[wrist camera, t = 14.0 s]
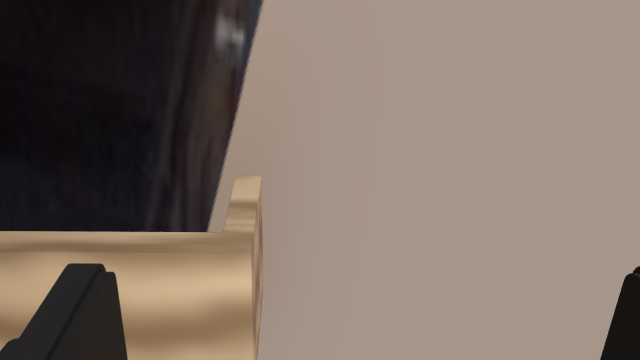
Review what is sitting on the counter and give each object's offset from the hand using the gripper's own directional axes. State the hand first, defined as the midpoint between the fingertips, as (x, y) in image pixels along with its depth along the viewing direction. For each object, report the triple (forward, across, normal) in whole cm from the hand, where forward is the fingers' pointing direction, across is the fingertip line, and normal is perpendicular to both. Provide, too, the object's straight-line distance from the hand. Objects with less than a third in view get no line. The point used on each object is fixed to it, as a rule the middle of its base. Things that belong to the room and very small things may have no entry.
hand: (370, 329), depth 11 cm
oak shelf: (+33, +14, +18) cm, 40 cm away
